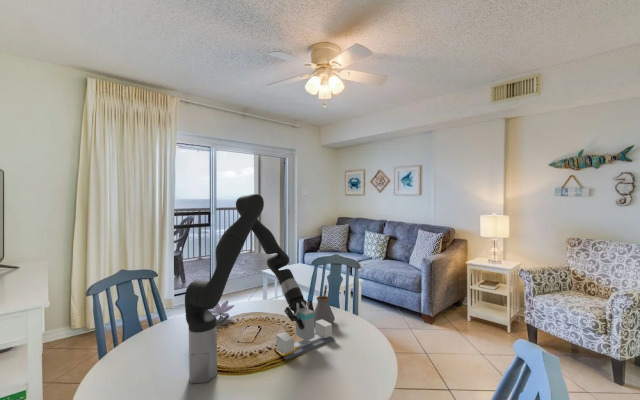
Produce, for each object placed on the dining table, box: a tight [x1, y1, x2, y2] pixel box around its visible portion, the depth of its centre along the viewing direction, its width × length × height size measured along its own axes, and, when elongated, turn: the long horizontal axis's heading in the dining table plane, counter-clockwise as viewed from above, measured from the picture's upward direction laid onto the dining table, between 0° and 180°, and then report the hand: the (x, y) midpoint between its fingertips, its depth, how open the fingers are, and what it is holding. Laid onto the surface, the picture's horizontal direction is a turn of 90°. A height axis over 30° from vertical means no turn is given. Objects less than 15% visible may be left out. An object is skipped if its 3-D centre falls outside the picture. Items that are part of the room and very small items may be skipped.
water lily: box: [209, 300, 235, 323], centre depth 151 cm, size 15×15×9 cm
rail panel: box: [275, 319, 336, 361], centre depth 125 cm, size 25×9×7 cm, turn 129°
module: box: [295, 307, 315, 341], centre depth 125 cm, size 5×7×11 cm, turn 39°
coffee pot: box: [314, 284, 335, 325], centre depth 151 cm, size 21×12×15 cm, turn 172°
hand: (307, 326), depth 124 cm, fingers closed on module, 4 cm apart
